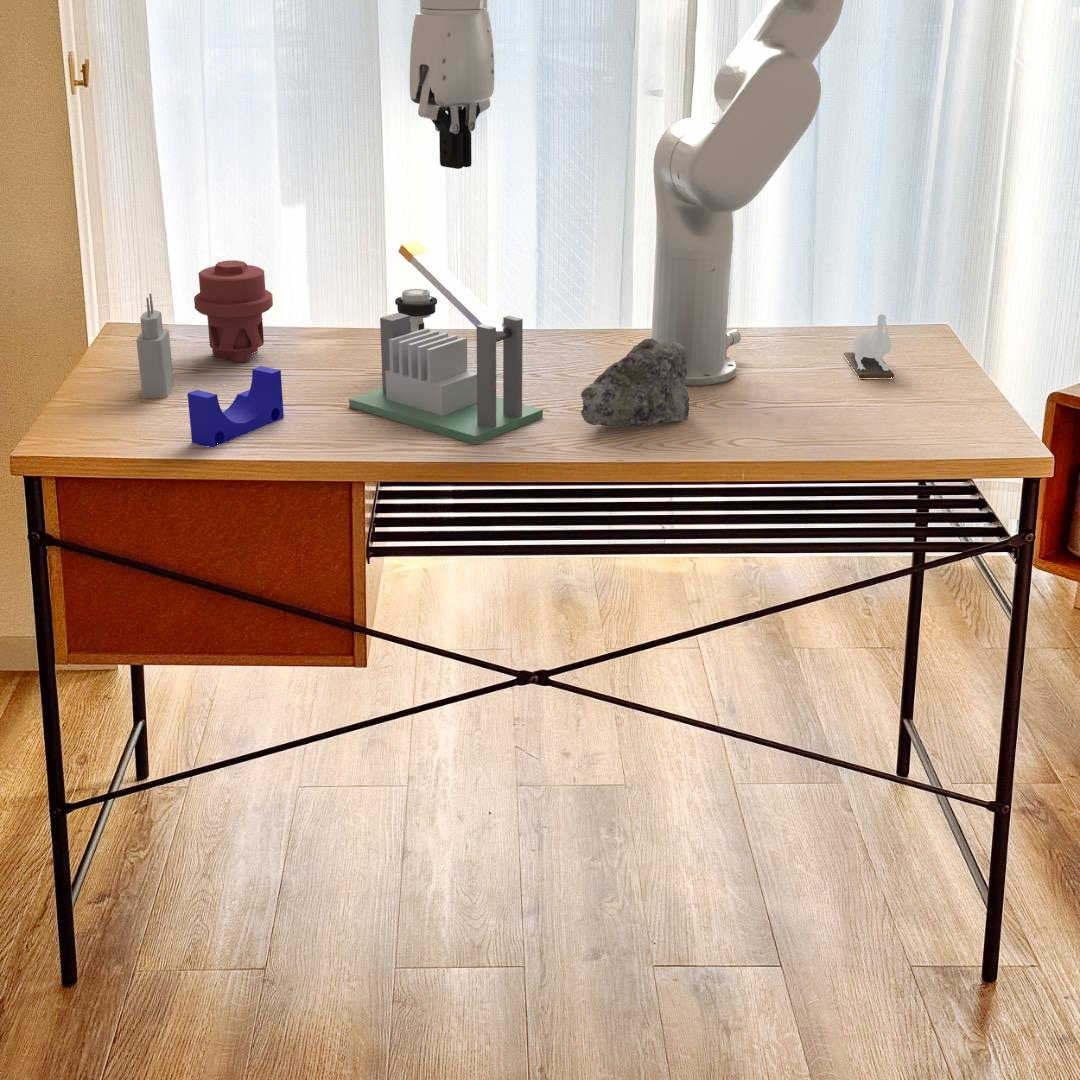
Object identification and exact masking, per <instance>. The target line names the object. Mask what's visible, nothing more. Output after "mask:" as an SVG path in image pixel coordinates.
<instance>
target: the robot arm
mask: <svg viewBox="0 0 1080 1080" xmlns="http://www.w3.org/2000/svg"><path fill="white" fill-rule="evenodd" d="M844 2H845V1H844V0H767V2H766V3H765V5H764V6H763V8H762V10H761V11H760V13H759V14H758V16H757V17H756V19H755V20H754V21H753V23H752V24H751V25H750V26H749V28H748V29H747V31H746V32H745V33H744V35H743V36H742V37H741V39H740V40H739V42H738V43H737V45H736V46H735V47H734V48H733V50H732V51H731V52H730V54H729V55H728V56H727V58H726V59H725V60H724V61H723V63H722V64H721V67H720V68H719V70H718V72H717V73H716V76H715V80H714V83H713V84H714V85H713V95H714V98H715V102H716V103H717V105H718V107H719V109H720V110H721V112H722V114H721V116H720V117H719V118H718V119H717V121H714V120H711V119H709V118H705V117H688V118H687V117H686V118H683V119H680V120H678V121H676V122H674V123H673V124H672V125H670V126H669V127H668V128H667V129H666V130H665V131H664V132H663V134H661V137H659V140H658V143H657V145H656V147H655V152H654V156H653V165H652V166H653V169H652V170H653V184H654V194H655V210H656V211H655V212H656V213H655V214H656V215H655V222H656V223H655V224H656V225H655V226H656V228H655V230H656V231H655V251H654V252H655V253H654V268H653V269H654V270H653V293H652V294H653V295H652V317H651V318H652V319H651V338H653V339H654V340H655V341H657V342H658V343H660V344H666V343H672V342H675V343H679V344H681V345H682V346H683V347H684V349H685V351H686V354H687V362H686V369H687V375H686V377H685V386H706V385H714V384H715V385H716V384H719V383H723V382H726V381H729V380H731V379H733V378H734V377H735V376H736V373H737V363H736V362H735V360H733V359H732V358H730V357H729V356H727V354H728V353H727V350H728V349H729V348H730V347H732V346H734V345H737V344H738V343H740V342H741V340H742V339H741V338H742V337H741V333H740V331H739V330H737V329H731V330H730V329H729V330H728V328H727V327H728V313H729V312H728V311H729V297H730V283H731V280H730V279H731V268H732V267H731V265H732V253H733V244H734V242H733V240H734V237H733V236H734V220H733V213H734V212H736V211H740V210H741V209H743V208H744V207H745V206H747V205H749V203H751V202H752V201H753V200H754V199H755V198H756V197H757V196H758V195H759V194H760V193H761V191H762V190H763V189H764V188H765V187H766V185H767V184H768V183H769V181H770V179H772V177H773V176H774V175H775V173H776V172H777V170H779V168H780V166H781V165H782V164H783V163H784V161H785V160H786V158H787V157H788V156H789V155H790V153H791V151H792V150H793V149H794V148H795V146H797V144H798V142H799V140H801V139H802V137H803V135H804V134H805V133H806V131H807V130H808V128H809V127H810V125H811V124H812V122H813V120H814V117H816V114H817V111H818V108H819V105H820V101H821V95H822V94H821V93H822V88H821V85H822V82H821V79H820V76H819V72H818V71H817V68H816V67H815V65H814V64H813V62H814V61H815V60H816V58H817V57H818V56H819V53H820V52H821V50H822V49H823V47H824V46H825V44H826V42H827V41H828V40H829V39H830V37H831V35H832V33H833V32H834V30H835V28H836V26H837V25H838V22H839V20H840V17H841V14H842V11H843V6H844ZM489 13H490V12H489V11H488V0H419V12H416V13H415V16H414V20H413V26H412V31H411V32H412V33H411V41H410V53H409V54H410V55H409V96H410V100H411V102H413V103H414V104H416V105H417V104H419V105H418V112H417V113H418V114H417V115H418V116H419V117H421V118H423V119H428V120H430V121H432V123H433V124H434V129H435V131H436V132H439V133H438V135H439V137H438V138H439V142H438V143H439V165H440V166H441V167H442V168H443V167H444V168H450V169H456V170H459V169H463V168H471V166H472V162H473V161H472V160H473V159H472V132H474V131H475V130H476V129H475V128H476V121H477V119H478V117H479V116H480V114H482V112H485V111H486V110H488V109H489V108H490V107H491V100H490V98H491V97H492V96H493V94H494V90H495V55H494V39H493V32H492V24H491V18H490V14H489Z"/></svg>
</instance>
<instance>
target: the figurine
mask: <svg viewBox="0 0 1080 1080" xmlns="http://www.w3.org/2000/svg"><path fill="white" fill-rule="evenodd" d="M886 319H887V316H886V315H885V314H883V313H882V314H881V313H880V314H879V315H878V316H877V327H874V328H868V329H867V328H866V329H863V330H860V331H858V332H857V333H856V334H855V336H854V338H853V340H852V348H851V349H852V351H851V352H850V351H849V352H848V351H847V352H843V356H844V355H845V357H846V358H847V360H848V361H849V363H850V364H851V366H852V367H853V369H854V370H855V372H856V373H857V375H858V376H859V378H891V377H892V378H893V377H894V378H895V373H894V372H893V371H892V368H891V367H889V366H888V365H887V363H886V362H885V361H884V359H883V358H884V355H886V354H889V353H891V348H892V341H891V338H890V335H889V328H888V325H887V320H886ZM883 328H884V329H883ZM855 372H854V373H855ZM857 375H856V376H857ZM859 378H858V379H859Z"/></svg>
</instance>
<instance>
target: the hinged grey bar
mask: <svg viewBox="0 0 1080 1080" xmlns="http://www.w3.org/2000/svg"><path fill="white" fill-rule="evenodd" d="M397 253H399V255H401V256H402V257H403V258H404V259H405V260H406V261H407V262H408V263H409V264H411V265H412V266H413V267H414V268H415V269H416V270H417V271H418V272H419V273H420V274H421V275H422V276H423V277H424V278H425V279H426V280H428V282H430V283H431V285H433V287H435V288H436V290H437V291H438V292H439V293H440V294H442V295H443V297H445V298H446V299H447V300H448V302H449V303H451V304H452V305H453V306H454V307H455V308H456V309H457V310H458V312H460V313H461V314H462V315H463V316H464V317H465V318H467V320H468V321H469V322H470V323H471V324H472V325H473V326H474V327H476V326H478V325H481V324H484V325H489V326H493V327H496V343H498V342H502V341H503V340H504V339H507V338H510V337H511V336H512V331H511V330H510V328H507V327H506V326H505V325H504V324H503V321H500V319H499V318H498V317H497V316H495V315H494V314H493V313H492V311H491V310H490V309H488V307H486V306H485V305H484V304H483V303H482V301H480V299H478V298H477V297H476V296H475V294H473V293H472V292H471V291H470V290H469V289H467V287H465V285H463V284H462V282H460V281H459V279H457V278H456V277H455V276H454V275H453V274H452V272H450V271H449V270H448V269H447V267H445V266H444V265H443V264H442V263H441V261H439V260H438V259H437V258H436V257H435V256H434V255H433V254H432V253H430V251H429V250H428V248H426V247H425V246H424V245H423V243H421V242H420V241H419V240H413V241H410V242H405V243H401V244H400V247H399V250H398V252H397Z"/></svg>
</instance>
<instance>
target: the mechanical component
mask: <svg viewBox="0 0 1080 1080" xmlns="http://www.w3.org/2000/svg"><path fill="white" fill-rule="evenodd" d="M265 276H266V275H265V270H264V269H263V268H262V267H258V266H257V265H256V266H255V265H251V264H247V263H246V262H245V261H242V260H236V259H234V260H231V259H230V260H221V261H219V262H216V264H214V265H213V266H209V267H206V268H204V269H202V270H200V271H199V272H198V283H199V292H198V293H196V295H195V296H194V297H193V303H194V304H193V305H194V309H195V310H196V311H197V312H198V313H199V314H202V315H204V316H207V326H208V328H207V329H208V340H209V347H210V348H211V349H212V350H211V352H212V355H214V357H215V356H219V357H218V358H221V357H224V358H223V359H227V358H228V360H231V359H232V361H234V362H236V363H239V364H245V363H247V362H248V361H249V356H252V355H253V354H255V353H254V352H256V351H257V352H258V351H259V348H261V347H262V346H264V345H265V340H264V338H265V337H264V325H263V313H266V312H268V311H269V310H271V308H272V307H273V305H274V302H273V301H274V300H273V293H272V292H270V291H269V290H268V289H266V278H265ZM257 352H256V353H257ZM252 353H253V354H252ZM244 362H245V363H244Z"/></svg>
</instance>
